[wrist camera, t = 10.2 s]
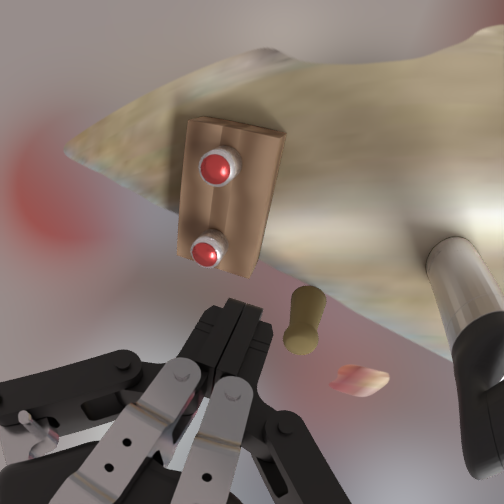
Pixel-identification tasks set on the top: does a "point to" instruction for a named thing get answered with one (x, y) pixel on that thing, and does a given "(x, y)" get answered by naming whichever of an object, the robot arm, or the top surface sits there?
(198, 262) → the knob
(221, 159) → the knob
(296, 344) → the cork
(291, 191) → the top surface
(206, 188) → the console
